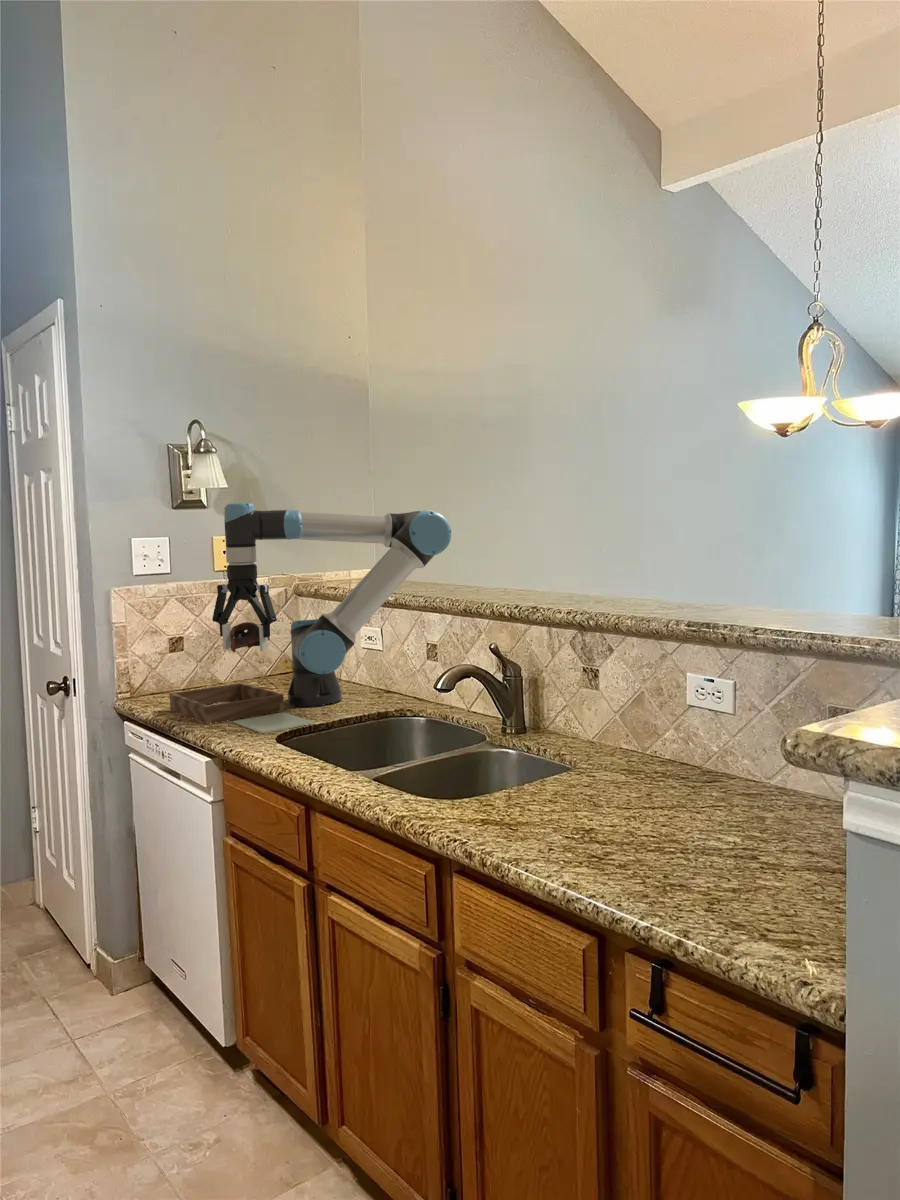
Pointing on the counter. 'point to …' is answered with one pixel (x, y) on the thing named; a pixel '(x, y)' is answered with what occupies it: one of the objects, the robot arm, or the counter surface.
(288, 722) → the cutting board
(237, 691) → the walnut crate
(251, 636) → the pottery mug
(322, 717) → the counter surface
